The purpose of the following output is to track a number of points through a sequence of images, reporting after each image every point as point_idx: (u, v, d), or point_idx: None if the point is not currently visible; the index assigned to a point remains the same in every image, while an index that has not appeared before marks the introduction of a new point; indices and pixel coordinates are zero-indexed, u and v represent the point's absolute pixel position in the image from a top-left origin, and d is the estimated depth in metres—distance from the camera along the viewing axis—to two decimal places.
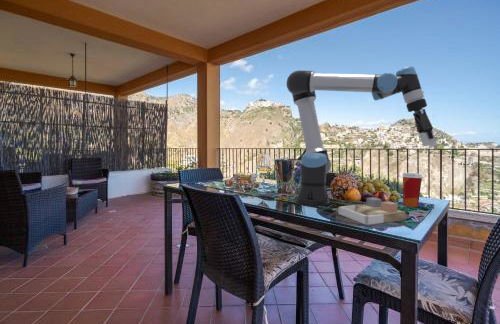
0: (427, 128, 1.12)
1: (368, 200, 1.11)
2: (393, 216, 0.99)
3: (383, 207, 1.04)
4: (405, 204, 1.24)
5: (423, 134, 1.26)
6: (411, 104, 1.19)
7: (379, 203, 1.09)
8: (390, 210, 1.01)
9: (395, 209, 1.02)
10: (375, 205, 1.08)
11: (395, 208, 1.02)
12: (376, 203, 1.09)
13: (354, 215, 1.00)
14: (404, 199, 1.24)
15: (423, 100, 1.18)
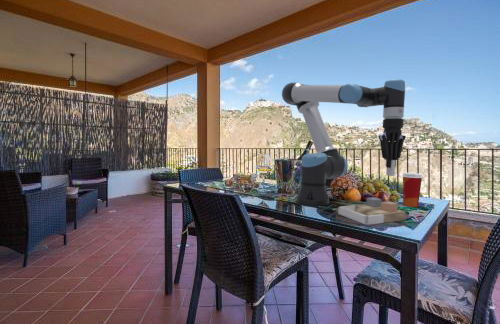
0: (383, 156, 1.11)
1: (368, 200, 1.11)
2: (393, 216, 0.99)
3: (383, 207, 1.04)
4: (405, 204, 1.24)
5: None
6: (383, 121, 1.12)
7: (379, 203, 1.09)
8: (390, 210, 1.01)
9: (395, 209, 1.02)
10: (375, 205, 1.08)
11: (395, 208, 1.02)
12: (376, 203, 1.09)
13: (354, 215, 1.00)
14: (404, 199, 1.24)
15: (393, 120, 1.07)
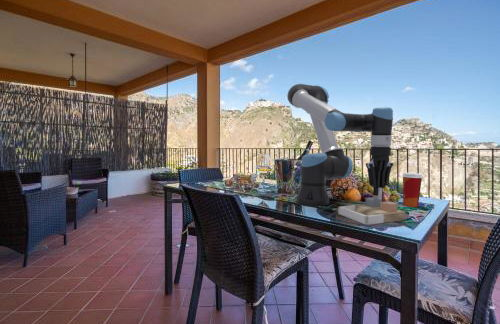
0: (370, 184, 1.10)
1: (367, 200, 1.11)
2: (393, 216, 0.99)
3: (383, 207, 1.04)
4: (405, 204, 1.24)
5: None
6: None
7: (378, 203, 1.09)
8: (390, 210, 1.01)
9: (395, 209, 1.02)
10: (374, 205, 1.08)
11: (395, 208, 1.02)
12: (375, 203, 1.08)
13: (354, 215, 1.00)
14: (404, 199, 1.24)
15: (380, 149, 1.06)
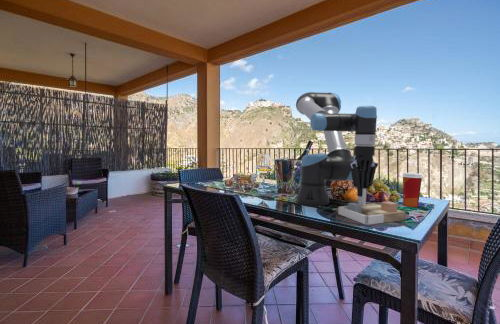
0: (354, 184, 1.07)
1: None
2: (393, 216, 0.99)
3: (383, 207, 1.04)
4: (405, 204, 1.24)
5: None
6: (354, 148, 1.08)
7: (358, 208, 1.05)
8: (390, 210, 1.01)
9: (395, 209, 1.02)
10: None
11: (395, 208, 1.02)
12: (357, 212, 1.05)
13: (354, 215, 1.00)
14: (404, 199, 1.24)
15: (364, 148, 1.03)
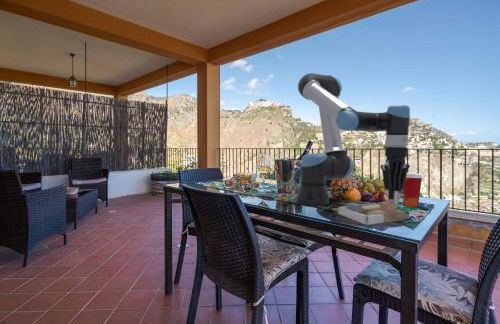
0: (385, 187, 1.03)
1: None
2: (393, 216, 0.99)
3: (382, 207, 1.04)
4: (405, 204, 1.24)
5: None
6: (385, 149, 1.04)
7: (358, 208, 1.05)
8: (389, 210, 1.01)
9: (394, 209, 1.02)
10: None
11: (394, 208, 1.02)
12: (357, 212, 1.05)
13: (354, 215, 1.00)
14: (404, 199, 1.24)
15: (397, 149, 0.99)
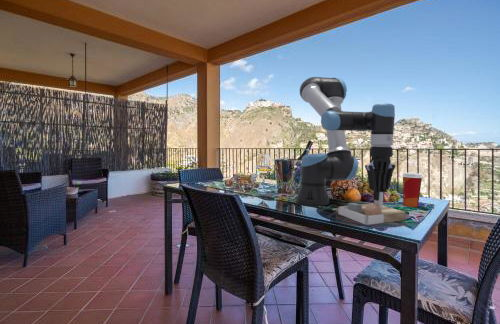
0: (370, 188, 1.00)
1: None
2: (393, 216, 0.99)
3: (367, 213, 1.01)
4: (405, 204, 1.24)
5: None
6: (370, 149, 1.01)
7: (358, 208, 1.05)
8: None
9: (379, 211, 0.99)
10: None
11: (378, 210, 0.99)
12: (357, 212, 1.05)
13: (354, 215, 1.00)
14: (404, 199, 1.24)
15: (381, 149, 0.97)
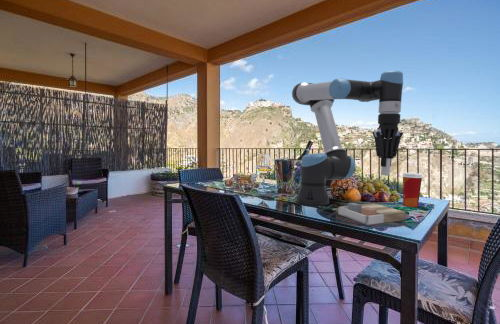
0: (378, 154, 1.03)
1: None
2: (393, 216, 0.99)
3: None
4: (405, 204, 1.24)
5: None
6: (378, 116, 1.03)
7: (358, 208, 1.05)
8: None
9: (374, 212, 0.98)
10: None
11: (373, 212, 0.98)
12: (357, 212, 1.05)
13: (354, 215, 1.00)
14: (404, 199, 1.24)
15: (389, 115, 0.99)
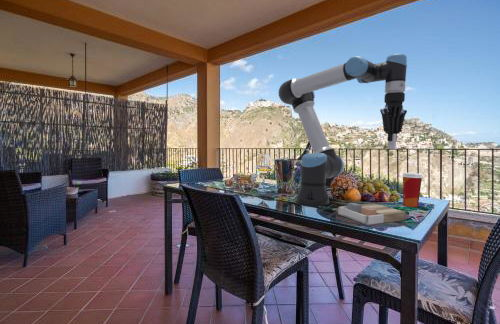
0: (385, 130, 1.14)
1: None
2: (393, 216, 0.99)
3: None
4: (405, 204, 1.24)
5: None
6: None
7: (358, 208, 1.05)
8: None
9: (374, 212, 0.98)
10: None
11: (373, 212, 0.98)
12: (357, 212, 1.05)
13: (354, 215, 1.00)
14: (404, 199, 1.24)
15: (395, 94, 1.10)
